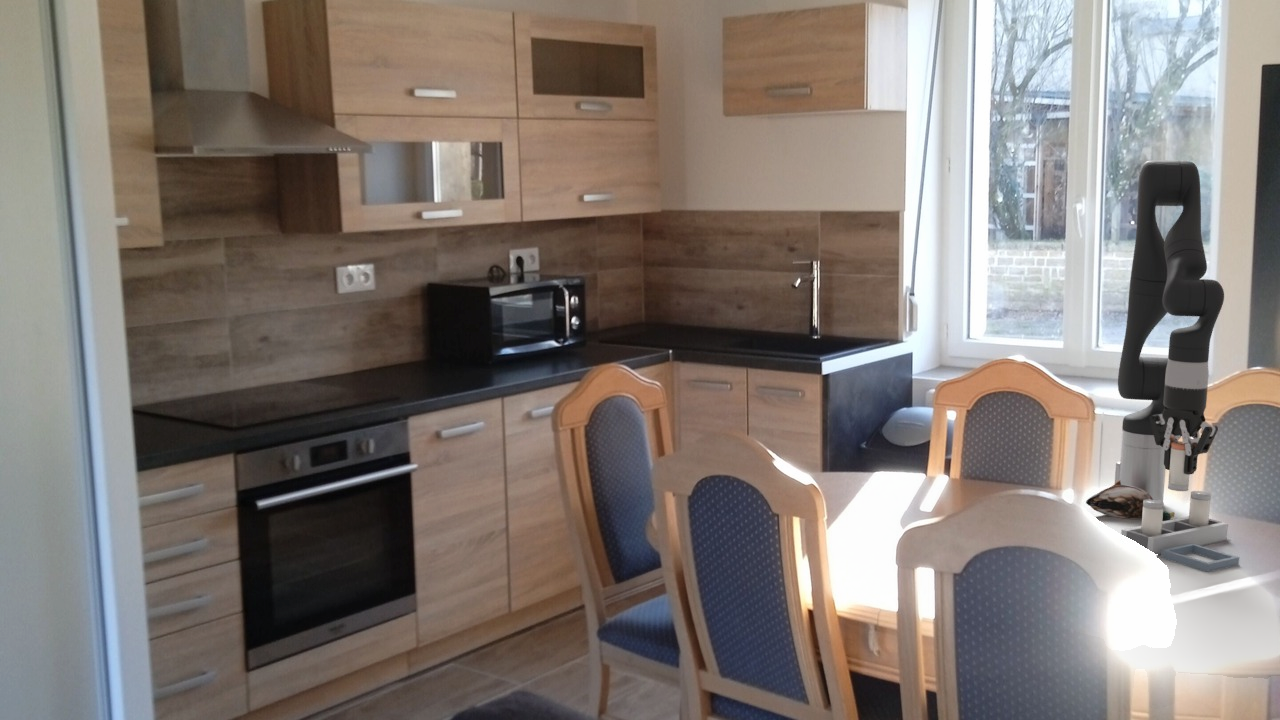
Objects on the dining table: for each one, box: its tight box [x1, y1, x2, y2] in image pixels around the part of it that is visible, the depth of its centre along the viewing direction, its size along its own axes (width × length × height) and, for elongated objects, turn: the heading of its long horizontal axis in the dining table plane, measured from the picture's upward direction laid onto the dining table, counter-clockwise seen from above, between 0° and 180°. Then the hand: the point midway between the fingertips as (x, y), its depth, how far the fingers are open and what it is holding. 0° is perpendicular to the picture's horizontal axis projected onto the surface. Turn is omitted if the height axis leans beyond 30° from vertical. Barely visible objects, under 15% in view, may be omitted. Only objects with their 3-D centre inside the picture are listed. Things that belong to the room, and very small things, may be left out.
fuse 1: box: [1140, 499, 1165, 537], centre depth 238 cm, size 4×4×9 cm
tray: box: [1160, 544, 1240, 573], centre depth 230 cm, size 10×9×3 cm
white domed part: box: [1188, 490, 1212, 527], centre depth 245 cm, size 4×4×9 cm
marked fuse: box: [1167, 440, 1190, 492], centre depth 240 cm, size 4×4×9 cm
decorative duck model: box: [1085, 481, 1175, 521], centre depth 258 cm, size 15×8×15 cm
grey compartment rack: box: [1120, 515, 1231, 557], centre depth 242 cm, size 8×23×4 cm, turn 120°
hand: (1179, 471), depth 240 cm, fingers closed on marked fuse, 3 cm apart
